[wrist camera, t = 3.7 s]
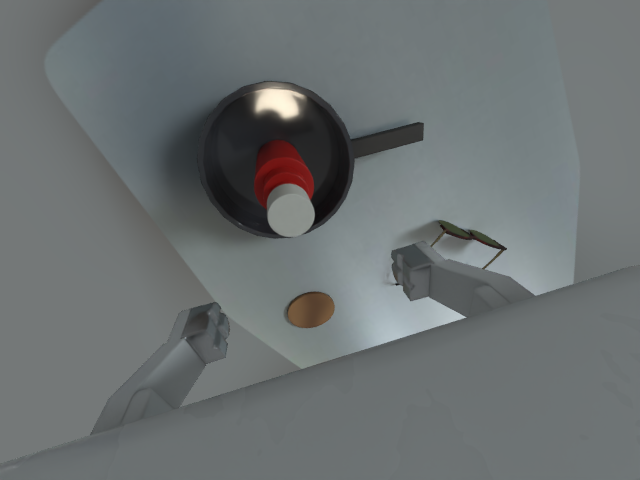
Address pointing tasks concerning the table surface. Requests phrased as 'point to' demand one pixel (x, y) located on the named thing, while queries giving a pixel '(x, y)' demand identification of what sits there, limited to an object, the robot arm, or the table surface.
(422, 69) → the table surface
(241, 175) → the pan
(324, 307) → the coaster
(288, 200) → the sauce bottle
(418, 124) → the pan handle
